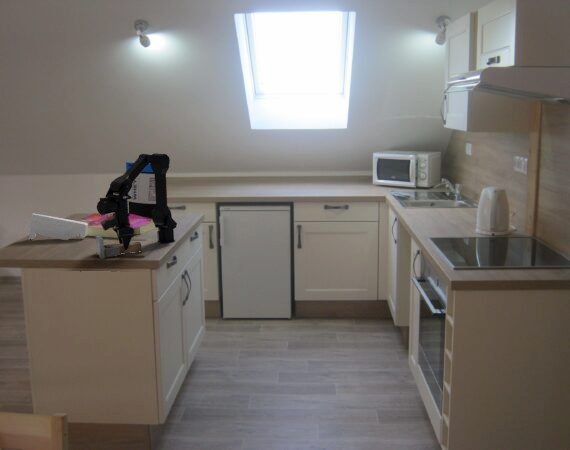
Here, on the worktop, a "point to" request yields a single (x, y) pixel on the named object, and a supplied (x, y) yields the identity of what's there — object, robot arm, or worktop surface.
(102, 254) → the bracket
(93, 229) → the pink cream flat block
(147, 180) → the protein powder
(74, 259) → the worktop surface
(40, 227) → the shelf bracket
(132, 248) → the rail
